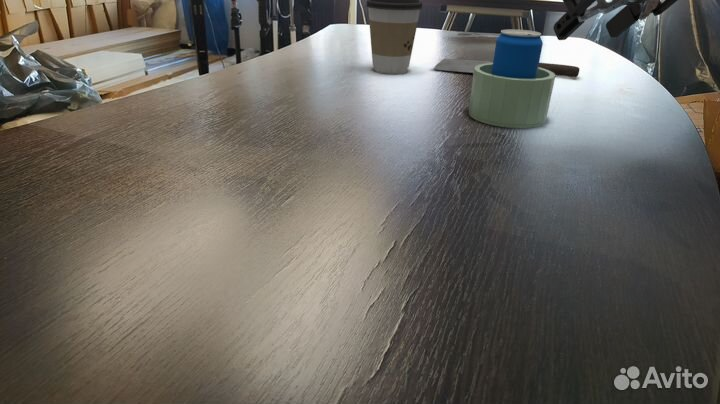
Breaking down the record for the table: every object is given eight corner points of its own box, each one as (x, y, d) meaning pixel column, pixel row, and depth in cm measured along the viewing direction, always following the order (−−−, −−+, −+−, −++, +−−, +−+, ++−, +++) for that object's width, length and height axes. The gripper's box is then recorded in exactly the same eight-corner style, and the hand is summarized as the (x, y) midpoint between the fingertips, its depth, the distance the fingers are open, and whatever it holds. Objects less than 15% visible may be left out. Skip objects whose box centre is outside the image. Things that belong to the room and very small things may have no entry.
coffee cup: (410, 78, 98) (417, -4, 91) (356, 73, 101) (358, -7, 94) (423, 67, 107) (429, -8, 101) (372, 62, 111) (375, -11, 104)
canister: (499, 102, 85) (506, 60, 81) (560, 119, 77) (570, 74, 73) (452, 112, 78) (458, 67, 75) (514, 133, 70) (523, 83, 67)
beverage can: (527, 122, 73) (543, 37, 68) (483, 116, 75) (495, 33, 70) (530, 110, 79) (545, 31, 73) (488, 105, 81) (500, 27, 75)
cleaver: (576, 73, 106) (578, 63, 105) (581, 84, 98) (584, 73, 97) (438, 63, 113) (439, 54, 112) (432, 72, 105) (433, 62, 104)
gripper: (735, -102, 51) (614, 6, 65) (634, -112, 45) (528, 8, 60) (769, -42, 49) (637, 56, 63) (668, -46, 44) (550, 62, 58)
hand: (584, 32), depth 62 cm, fingers open, 8 cm apart
